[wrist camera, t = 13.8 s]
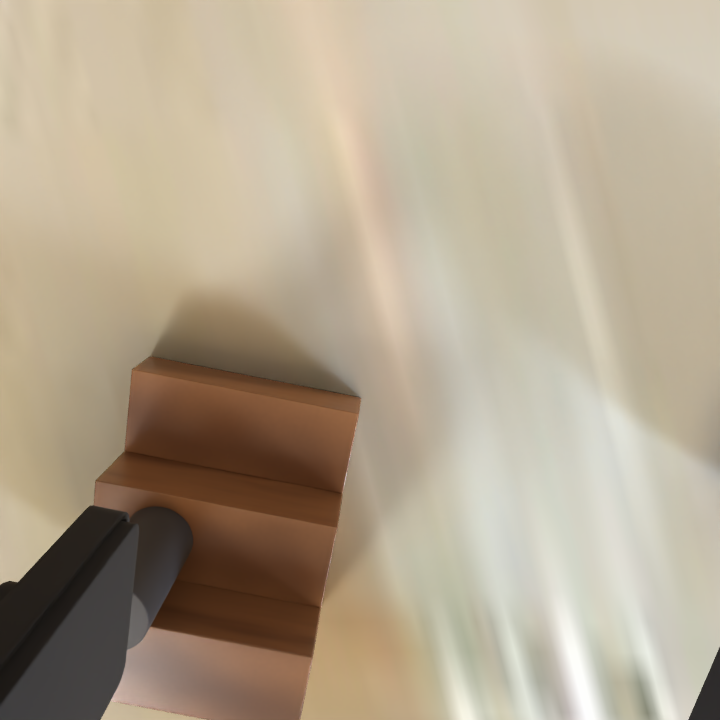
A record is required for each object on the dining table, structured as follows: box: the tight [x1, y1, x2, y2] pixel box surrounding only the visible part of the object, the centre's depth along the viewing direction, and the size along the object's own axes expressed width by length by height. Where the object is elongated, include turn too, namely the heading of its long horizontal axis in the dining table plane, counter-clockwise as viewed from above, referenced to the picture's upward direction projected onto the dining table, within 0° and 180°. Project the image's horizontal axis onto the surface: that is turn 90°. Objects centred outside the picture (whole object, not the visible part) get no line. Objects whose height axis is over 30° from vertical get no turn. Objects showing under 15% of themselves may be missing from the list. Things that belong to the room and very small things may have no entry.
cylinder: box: [127, 506, 193, 650], centre depth 33 cm, size 4×4×7 cm
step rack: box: [94, 356, 361, 720], centre depth 38 cm, size 16×14×11 cm
